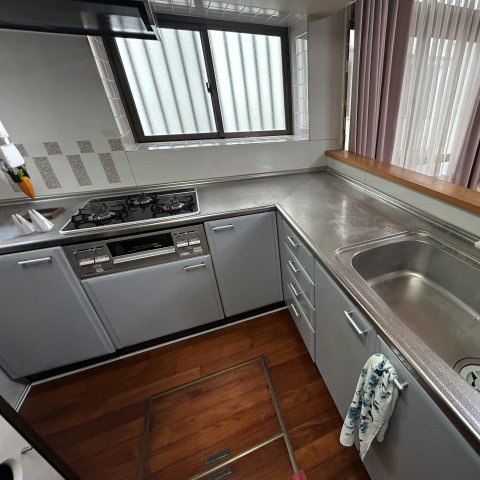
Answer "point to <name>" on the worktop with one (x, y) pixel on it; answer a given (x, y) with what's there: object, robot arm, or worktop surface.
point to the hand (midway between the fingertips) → (22, 180)
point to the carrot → (26, 185)
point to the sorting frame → (55, 211)
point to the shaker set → (38, 221)
